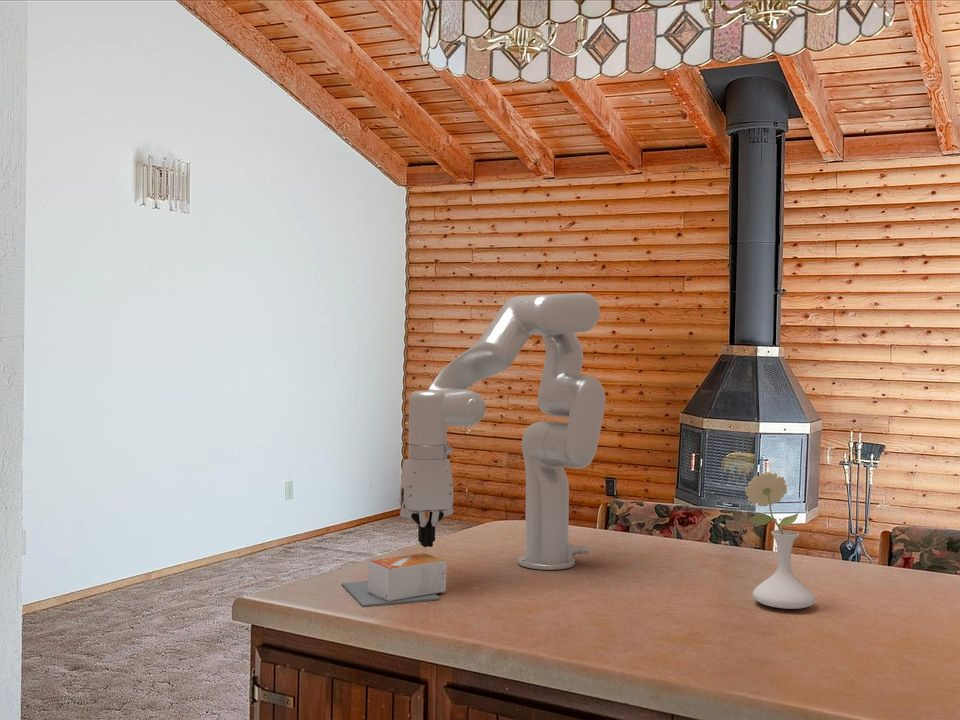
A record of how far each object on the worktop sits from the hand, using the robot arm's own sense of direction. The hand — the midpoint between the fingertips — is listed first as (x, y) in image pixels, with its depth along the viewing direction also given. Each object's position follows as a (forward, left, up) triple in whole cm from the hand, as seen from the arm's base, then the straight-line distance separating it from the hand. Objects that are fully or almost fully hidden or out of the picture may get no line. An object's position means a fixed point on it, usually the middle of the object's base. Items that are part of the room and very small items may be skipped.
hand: (426, 545), depth 187 cm
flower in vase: (-59, +33, -9) cm, 68 cm away
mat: (+7, 0, -9) cm, 11 cm away
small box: (-2, +1, -5) cm, 5 cm away
